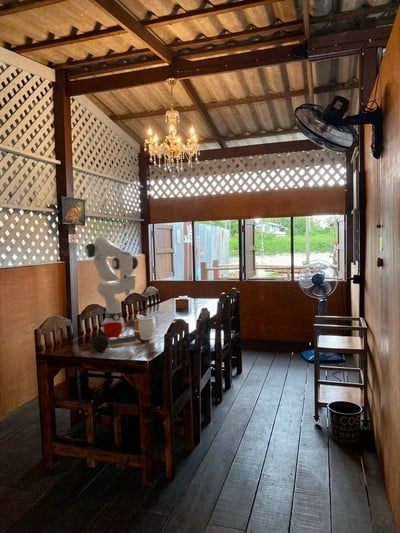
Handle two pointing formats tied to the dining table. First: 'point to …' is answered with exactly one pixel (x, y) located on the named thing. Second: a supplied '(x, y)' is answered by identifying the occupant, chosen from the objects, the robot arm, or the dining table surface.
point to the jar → (146, 327)
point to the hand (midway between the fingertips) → (127, 295)
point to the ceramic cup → (113, 329)
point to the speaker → (100, 343)
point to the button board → (122, 341)
